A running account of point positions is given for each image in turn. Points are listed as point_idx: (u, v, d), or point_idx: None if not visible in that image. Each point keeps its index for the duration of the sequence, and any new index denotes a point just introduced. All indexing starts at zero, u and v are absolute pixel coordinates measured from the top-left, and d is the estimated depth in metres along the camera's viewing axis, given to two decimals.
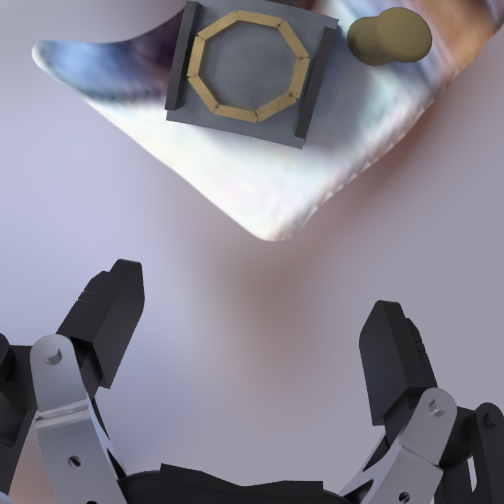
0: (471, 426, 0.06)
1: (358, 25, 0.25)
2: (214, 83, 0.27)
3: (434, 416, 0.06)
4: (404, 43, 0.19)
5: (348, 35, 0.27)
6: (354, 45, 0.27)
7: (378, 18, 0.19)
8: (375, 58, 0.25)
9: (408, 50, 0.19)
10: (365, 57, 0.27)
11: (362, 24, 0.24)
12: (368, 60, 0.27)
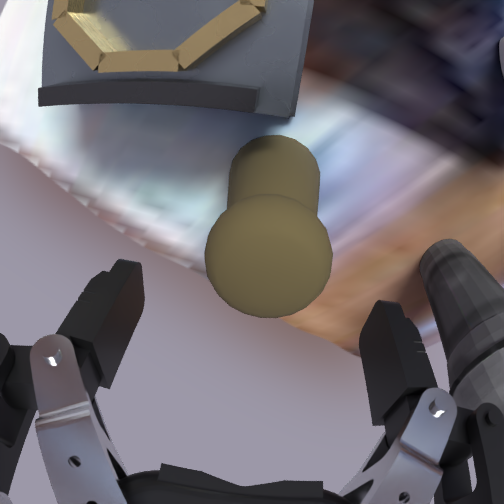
0: (471, 426, 0.06)
1: (292, 154, 0.17)
2: None
3: (434, 416, 0.06)
4: (236, 272, 0.12)
5: (274, 136, 0.19)
6: (252, 149, 0.18)
7: (291, 207, 0.12)
8: (229, 191, 0.17)
9: (224, 280, 0.12)
10: (233, 171, 0.19)
11: (292, 162, 0.16)
12: (230, 176, 0.19)
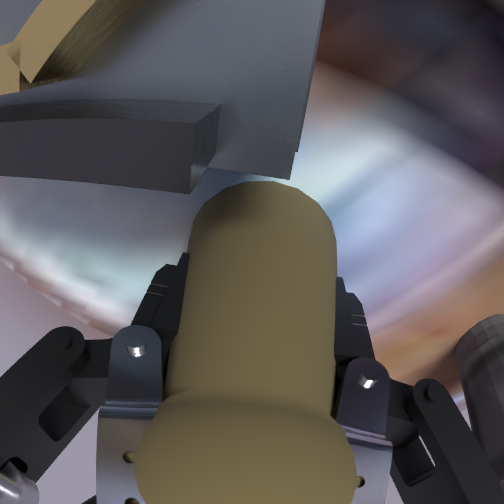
0: (411, 409, 0.06)
1: (293, 230, 0.10)
2: None
3: (360, 385, 0.07)
4: None
5: (261, 183, 0.12)
6: (220, 215, 0.10)
7: (287, 469, 0.04)
8: None
9: None
10: (188, 252, 0.11)
11: (294, 255, 0.09)
12: None
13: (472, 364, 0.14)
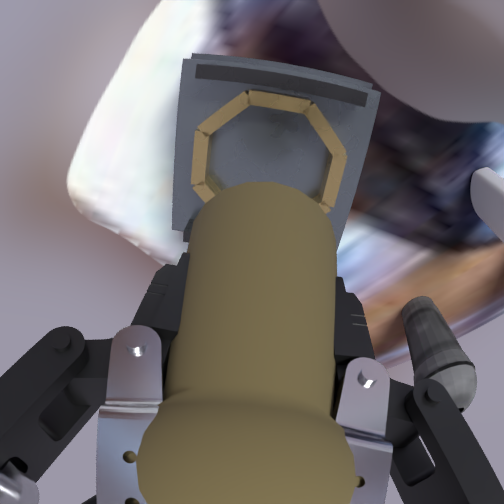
0: (411, 409, 0.06)
1: (292, 230, 0.10)
2: (239, 120, 0.21)
3: (360, 385, 0.07)
4: None
5: (261, 184, 0.12)
6: (220, 215, 0.10)
7: (287, 469, 0.04)
8: None
9: None
10: (188, 252, 0.11)
11: (294, 255, 0.09)
12: None
13: (407, 318, 0.34)
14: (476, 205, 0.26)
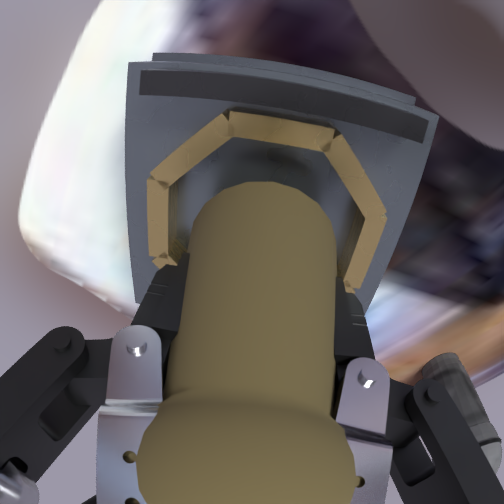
0: (411, 409, 0.06)
1: (293, 230, 0.10)
2: (218, 158, 0.14)
3: (360, 385, 0.07)
4: None
5: (261, 184, 0.12)
6: (221, 215, 0.10)
7: (287, 469, 0.04)
8: None
9: None
10: (188, 252, 0.11)
11: (294, 255, 0.09)
12: None
13: None
14: None
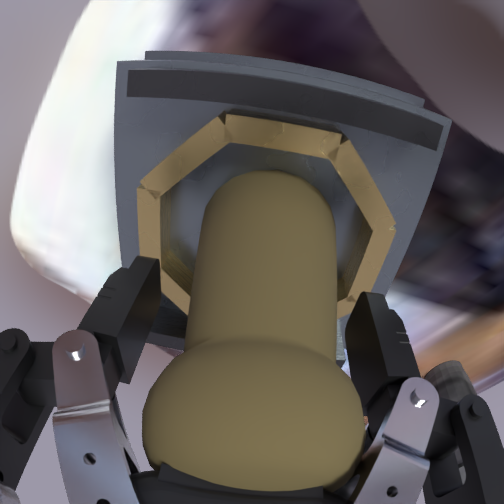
0: (455, 419, 0.06)
1: (297, 210, 0.11)
2: (214, 164, 0.13)
3: (415, 405, 0.06)
4: None
5: (267, 172, 0.13)
6: (232, 198, 0.12)
7: (300, 393, 0.05)
8: (194, 271, 0.11)
9: None
10: (202, 232, 0.12)
11: (298, 230, 0.10)
12: None
13: None
14: None
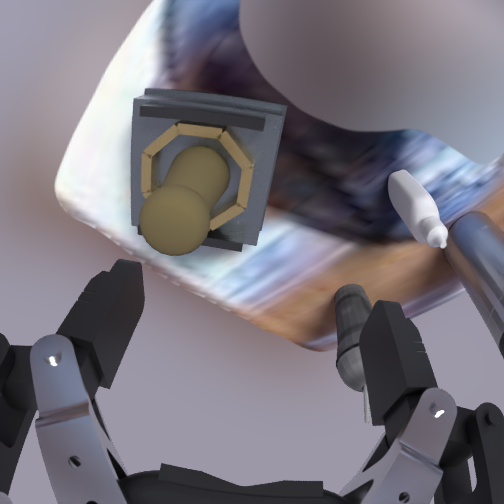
0: (471, 426, 0.06)
1: (203, 159, 0.27)
2: (175, 144, 0.28)
3: (434, 416, 0.06)
4: (152, 226, 0.21)
5: (197, 146, 0.29)
6: (180, 156, 0.27)
7: (182, 191, 0.21)
8: None
9: (147, 231, 0.21)
10: (168, 170, 0.28)
11: (201, 164, 0.26)
12: None
13: (336, 303, 0.42)
14: (393, 203, 0.34)
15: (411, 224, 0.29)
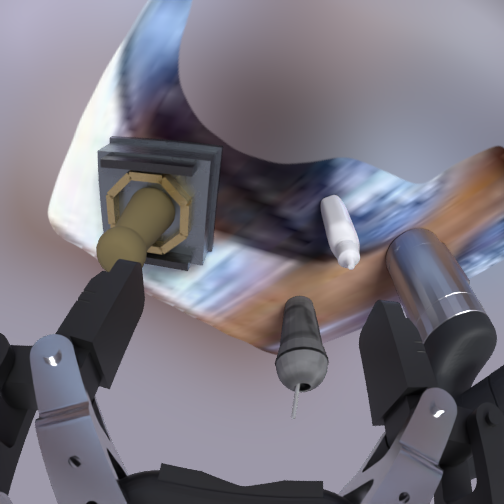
0: (471, 426, 0.06)
1: (149, 200, 0.34)
2: (131, 186, 0.36)
3: (434, 416, 0.06)
4: (104, 257, 0.28)
5: (147, 188, 0.36)
6: (133, 197, 0.35)
7: (122, 232, 0.28)
8: None
9: (101, 260, 0.28)
10: None
11: (145, 206, 0.33)
12: None
13: (284, 312, 0.49)
14: None
15: (330, 246, 0.35)
